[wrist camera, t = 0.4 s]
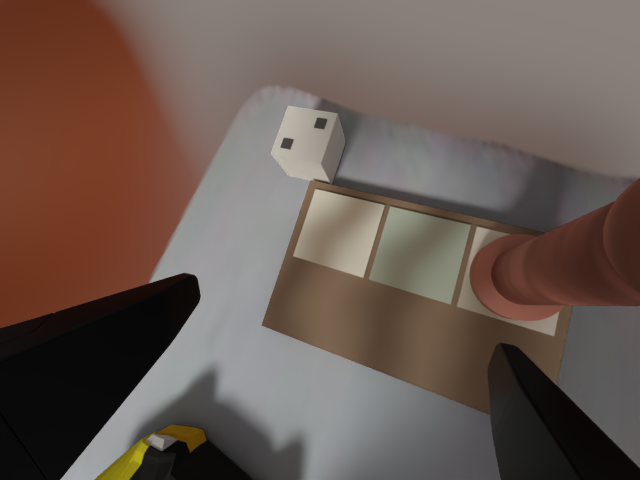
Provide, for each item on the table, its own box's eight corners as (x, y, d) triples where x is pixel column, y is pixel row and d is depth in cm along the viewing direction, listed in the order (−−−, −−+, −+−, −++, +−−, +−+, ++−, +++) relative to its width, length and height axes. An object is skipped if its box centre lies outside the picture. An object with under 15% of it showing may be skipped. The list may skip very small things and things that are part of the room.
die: (345, 142, 25) (337, 112, 21) (331, 185, 25) (320, 163, 21) (302, 134, 26) (287, 105, 22) (288, 175, 26) (270, 153, 22)
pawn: (579, 296, 18) (1188, 269, 4) (500, 334, 19) (813, 420, 5) (525, 224, 20) (847, 35, 6) (453, 262, 20) (591, 169, 6)
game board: (575, 244, 20) (587, 241, 19) (537, 429, 18) (547, 438, 17) (313, 184, 25) (310, 178, 24) (266, 324, 24) (260, 325, 22)
